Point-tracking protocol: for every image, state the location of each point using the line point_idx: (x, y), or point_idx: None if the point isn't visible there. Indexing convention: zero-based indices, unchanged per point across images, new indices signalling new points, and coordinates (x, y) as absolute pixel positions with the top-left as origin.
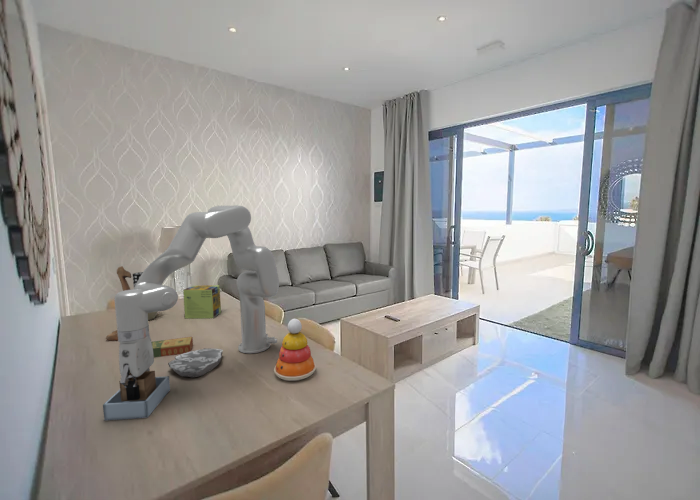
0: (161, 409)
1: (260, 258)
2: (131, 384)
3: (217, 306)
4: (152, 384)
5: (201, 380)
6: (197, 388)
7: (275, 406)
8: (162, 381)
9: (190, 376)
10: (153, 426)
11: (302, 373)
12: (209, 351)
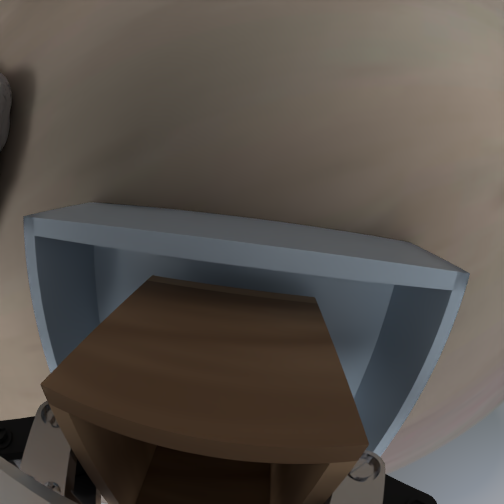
0: (339, 179)
1: None
2: (402, 492)
3: None
4: (190, 324)
5: (46, 64)
6: (119, 38)
7: None
8: (58, 260)
9: (4, 138)
10: (479, 188)
11: None
12: None
